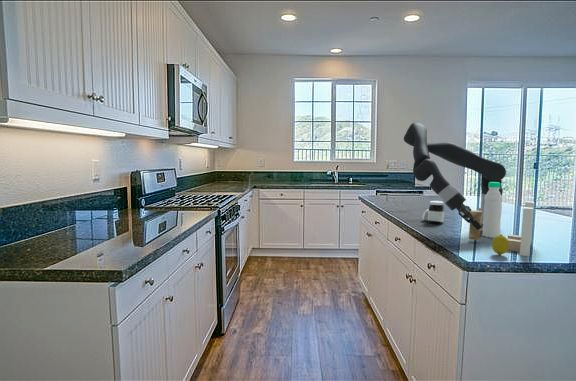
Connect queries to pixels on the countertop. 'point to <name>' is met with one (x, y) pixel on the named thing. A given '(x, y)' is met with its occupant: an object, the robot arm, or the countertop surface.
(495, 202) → the water bottle
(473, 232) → the tan wooden block
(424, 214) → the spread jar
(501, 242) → the lemon
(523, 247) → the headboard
